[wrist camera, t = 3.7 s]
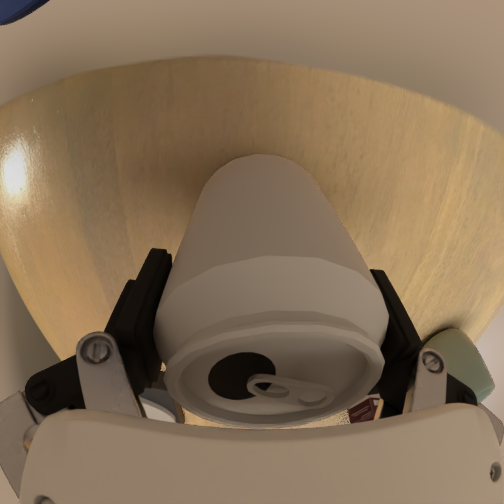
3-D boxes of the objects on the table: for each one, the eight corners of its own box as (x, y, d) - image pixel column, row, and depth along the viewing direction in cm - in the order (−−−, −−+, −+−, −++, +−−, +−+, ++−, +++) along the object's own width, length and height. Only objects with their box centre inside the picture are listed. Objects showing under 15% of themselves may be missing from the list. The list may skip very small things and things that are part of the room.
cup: (415, 366, 29) (437, 428, 21) (406, 343, 25) (435, 419, 17) (462, 338, 26) (490, 396, 18) (462, 308, 23) (500, 377, 15)
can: (210, 138, 14) (119, 278, 4) (336, 168, 15) (459, 322, 5) (193, 249, 18) (151, 424, 8) (299, 267, 19) (334, 435, 9)
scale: (79, 353, 26) (71, 373, 24) (173, 373, 27) (169, 396, 25) (113, 405, 35) (109, 420, 33) (184, 419, 36) (182, 436, 34)
